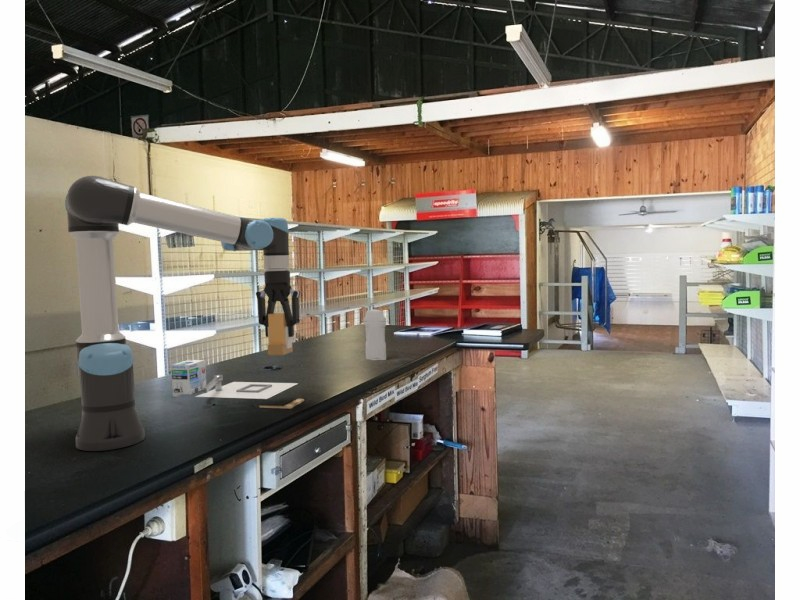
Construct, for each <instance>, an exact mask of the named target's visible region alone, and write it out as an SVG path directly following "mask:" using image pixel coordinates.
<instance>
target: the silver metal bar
mask: <svg viewBox="0 0 800 600" xmlns="http://www.w3.org/2000/svg"><path fill="white" fill-rule="evenodd" d="M223 378H224V376H223V374H216V375H213V379H212V380H210V382H209V383H206V386H205V387H204V388H203V390H202V394H203V393H207V392H208V391H211V390H212V388H213V387H215V384H216V383H217V382H218V381H221V382H222V381H224V379H223Z"/></svg>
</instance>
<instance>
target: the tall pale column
mask: <svg viewBox="0 0 800 600" xmlns="http://www.w3.org/2000/svg"><path fill="white" fill-rule="evenodd" d="M363 324H364V327H365V328H364V329H365V339H366V340H365V360H366V359H367V361H387V345H386V344H387V343H386V336H385V335H386V326H387V318H386V317H385V316H384V311H383V310H380V309H376V308H375V309H369V310H366V313H365V316H364V317H363Z"/></svg>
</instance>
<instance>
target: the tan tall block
mask: <svg viewBox="0 0 800 600" xmlns="http://www.w3.org/2000/svg"><path fill="white" fill-rule="evenodd" d="M268 324H269V345H268V344H267V355H268V356H285V355H287V354H290V353H292V352H294V351H293V350H294V349H293V347H294V346H293V344H292V347H291V348H286V343H285V327H286V325H287V322H286V319H285V314H284V312H274V313H272V314H268Z"/></svg>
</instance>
